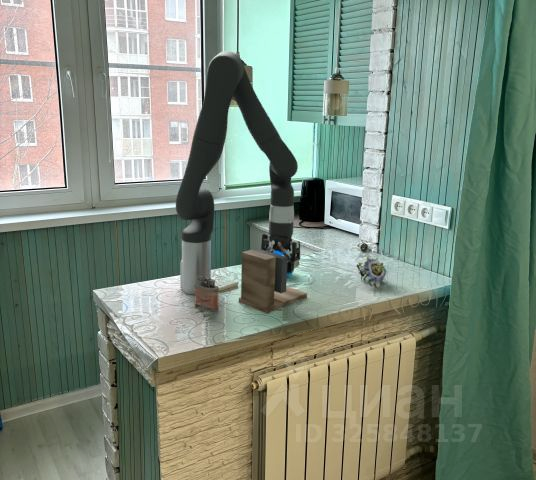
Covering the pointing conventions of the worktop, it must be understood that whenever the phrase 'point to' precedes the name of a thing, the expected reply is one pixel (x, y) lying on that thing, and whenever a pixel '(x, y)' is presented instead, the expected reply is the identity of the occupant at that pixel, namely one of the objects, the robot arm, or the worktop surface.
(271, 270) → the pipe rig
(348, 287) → the worktop surface
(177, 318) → the worktop surface
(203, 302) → the lighter
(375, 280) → the passion flower
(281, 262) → the panel
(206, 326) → the worktop surface
